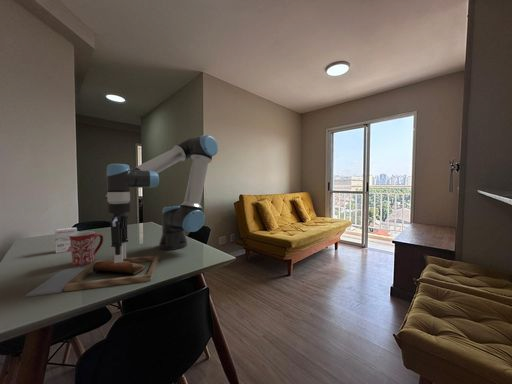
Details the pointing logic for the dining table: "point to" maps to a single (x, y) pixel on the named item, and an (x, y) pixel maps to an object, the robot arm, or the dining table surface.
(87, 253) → the mug
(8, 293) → the dining table surface
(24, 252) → the dining table surface
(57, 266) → the dining table surface
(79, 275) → the open square wooden frame
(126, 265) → the sunglasses case
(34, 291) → the felt pad
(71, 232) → the ink box
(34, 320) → the dining table surface
